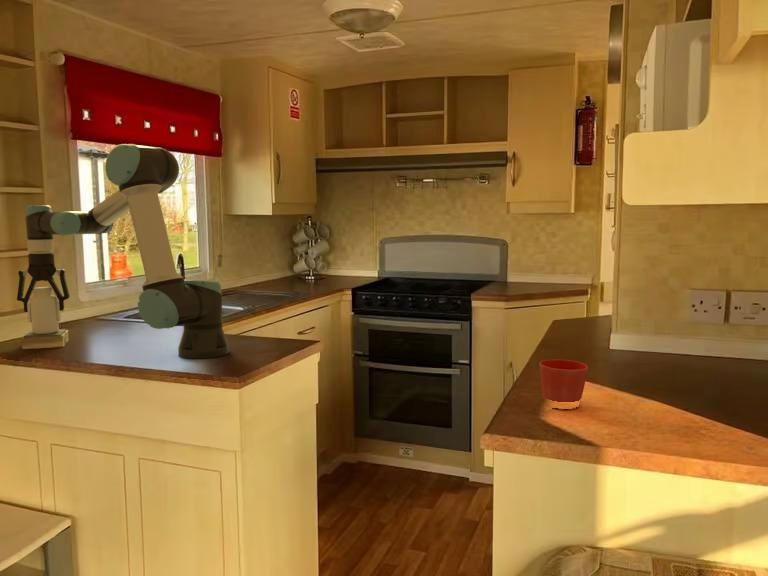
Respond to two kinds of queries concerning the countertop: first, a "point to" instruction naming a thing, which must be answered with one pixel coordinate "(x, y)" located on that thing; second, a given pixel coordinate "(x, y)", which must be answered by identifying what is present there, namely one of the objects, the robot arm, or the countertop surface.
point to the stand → (45, 339)
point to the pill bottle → (44, 311)
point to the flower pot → (563, 380)
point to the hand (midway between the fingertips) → (45, 321)
